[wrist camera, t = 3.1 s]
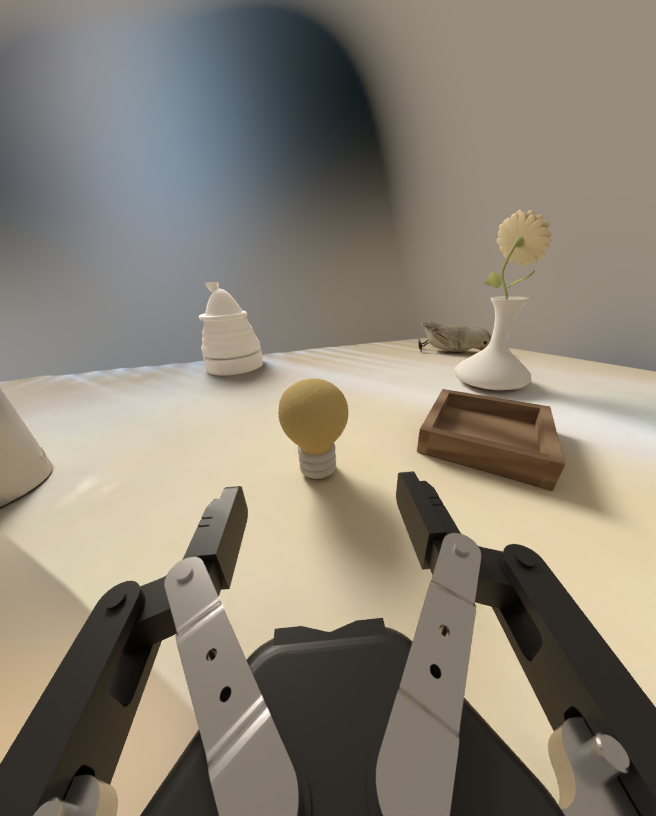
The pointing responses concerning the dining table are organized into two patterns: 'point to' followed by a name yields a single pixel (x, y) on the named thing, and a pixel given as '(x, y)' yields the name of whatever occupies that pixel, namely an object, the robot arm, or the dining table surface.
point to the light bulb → (314, 423)
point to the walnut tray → (494, 437)
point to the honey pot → (228, 336)
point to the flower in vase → (507, 307)
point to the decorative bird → (455, 337)
